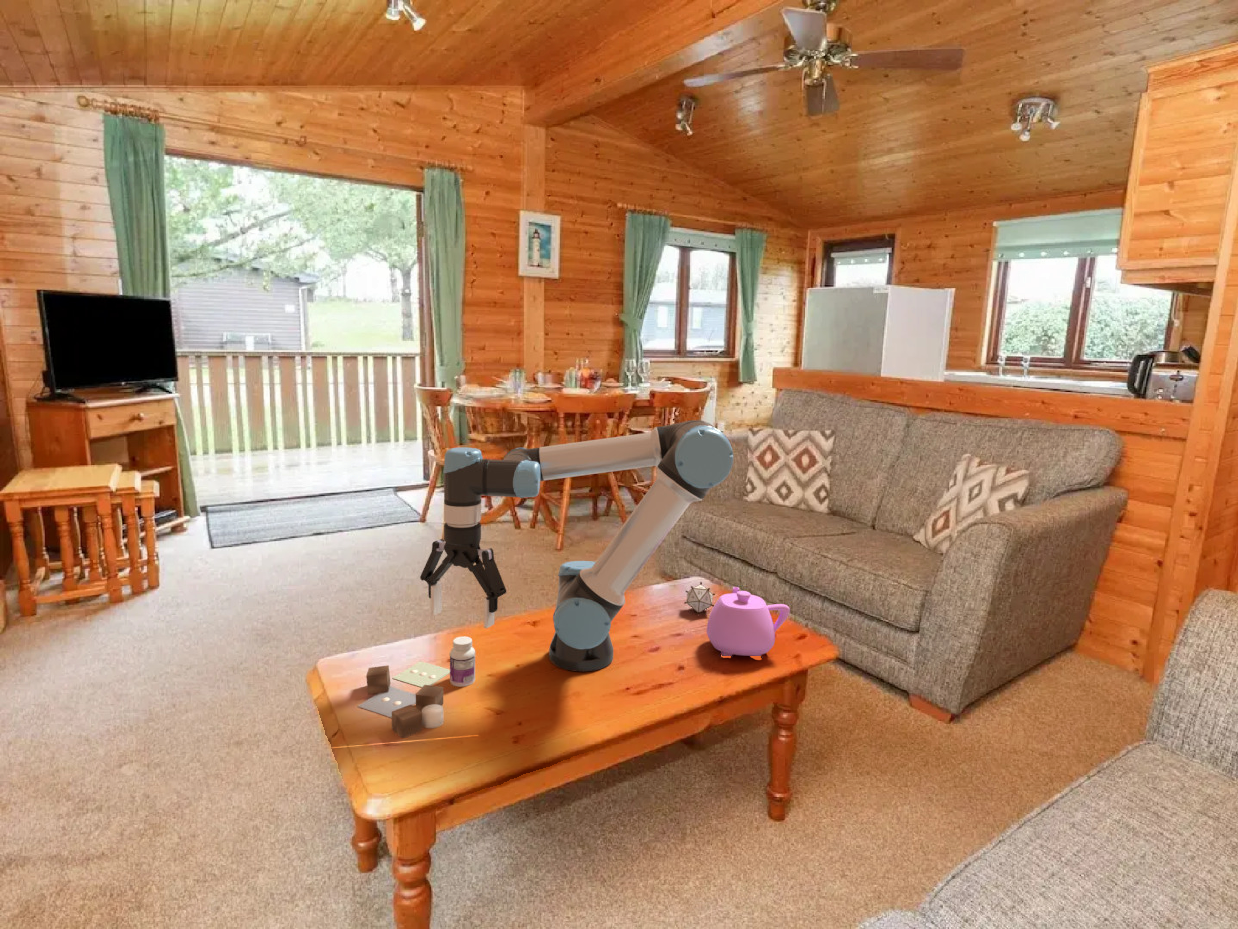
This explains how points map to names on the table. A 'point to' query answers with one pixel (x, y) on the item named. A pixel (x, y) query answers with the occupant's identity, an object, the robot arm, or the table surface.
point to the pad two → (389, 701)
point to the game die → (699, 598)
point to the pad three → (422, 674)
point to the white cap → (432, 716)
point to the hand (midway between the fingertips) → (462, 619)
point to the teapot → (743, 624)
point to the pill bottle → (462, 662)
